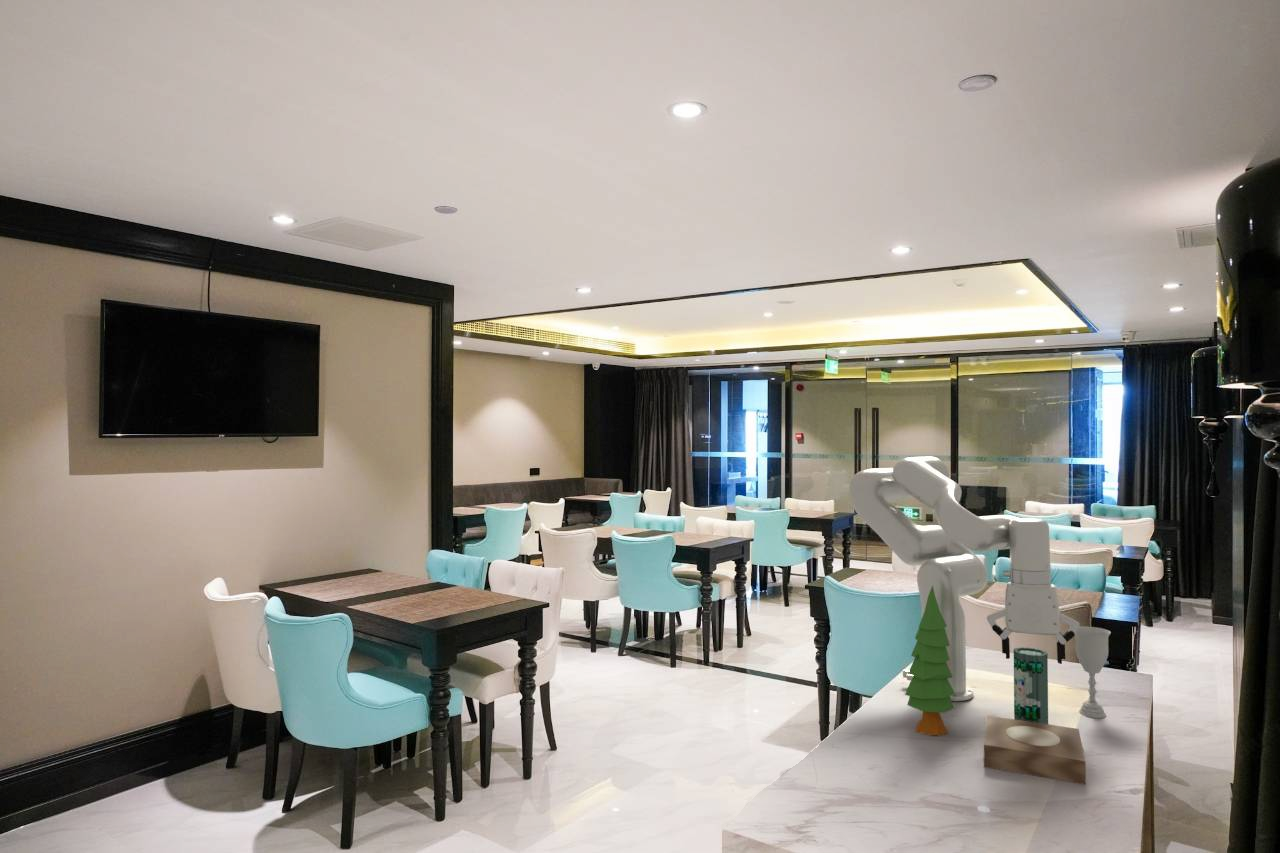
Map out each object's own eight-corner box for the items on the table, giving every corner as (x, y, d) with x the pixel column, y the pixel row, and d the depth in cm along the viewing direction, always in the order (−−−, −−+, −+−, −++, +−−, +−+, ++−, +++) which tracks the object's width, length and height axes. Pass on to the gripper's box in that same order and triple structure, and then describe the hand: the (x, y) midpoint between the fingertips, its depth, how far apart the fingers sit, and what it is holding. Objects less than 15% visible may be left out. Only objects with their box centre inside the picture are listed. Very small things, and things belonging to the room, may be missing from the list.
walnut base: (984, 766, 138) (983, 743, 138) (987, 735, 152) (987, 714, 152) (1085, 784, 130) (1085, 759, 130) (1078, 749, 145) (1078, 727, 145)
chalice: (1102, 708, 167) (1101, 626, 167) (1118, 719, 160) (1117, 634, 160) (1067, 707, 167) (1066, 626, 167) (1082, 718, 160) (1081, 634, 161)
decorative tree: (937, 742, 148) (936, 590, 149) (894, 728, 156) (893, 583, 156) (962, 730, 155) (960, 583, 155) (919, 717, 162) (918, 577, 162)
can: (1008, 719, 160) (1007, 649, 160) (1031, 716, 162) (1030, 646, 162) (1031, 730, 154) (1030, 656, 155) (1054, 726, 156) (1053, 654, 156)
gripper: (984, 577, 159) (987, 659, 158) (1079, 583, 151) (1082, 669, 151) (986, 572, 166) (988, 651, 165) (1076, 577, 158) (1079, 659, 157)
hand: (1033, 659), depth 158 cm, fingers open, 9 cm apart
